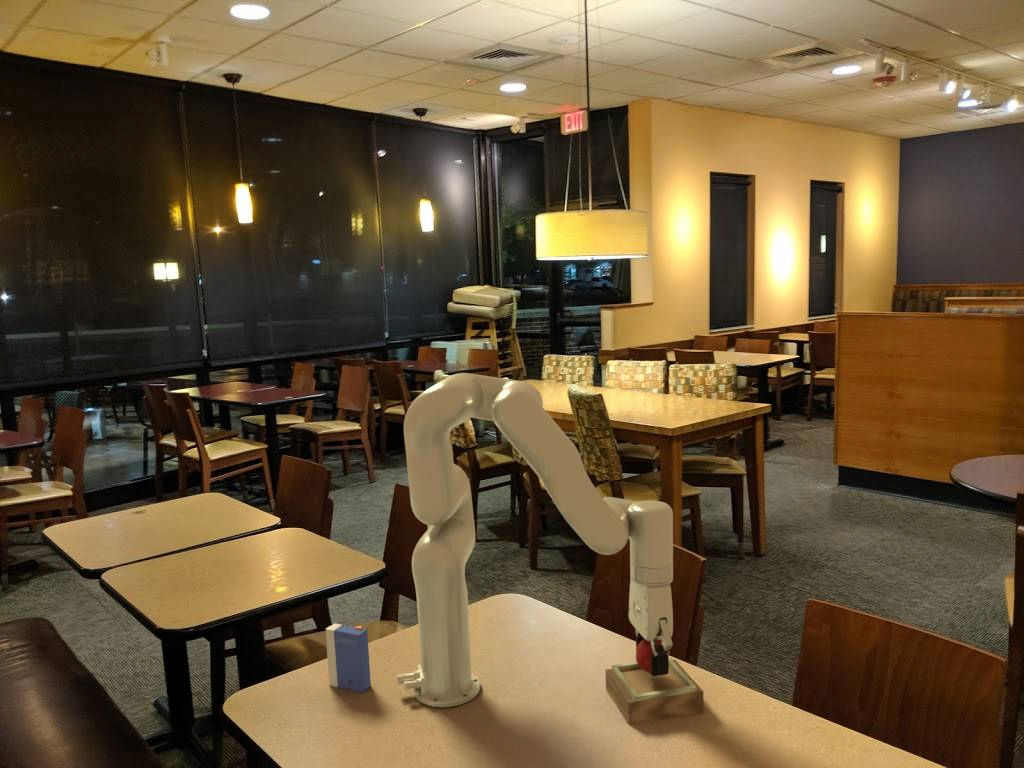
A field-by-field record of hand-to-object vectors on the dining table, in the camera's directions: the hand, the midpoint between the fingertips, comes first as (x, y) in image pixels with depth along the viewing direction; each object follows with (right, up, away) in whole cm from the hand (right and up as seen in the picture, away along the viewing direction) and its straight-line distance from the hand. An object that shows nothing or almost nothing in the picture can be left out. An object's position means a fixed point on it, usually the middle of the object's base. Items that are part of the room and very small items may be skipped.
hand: (652, 664), depth 143 cm
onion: (0, -2, 0) cm, 2 cm away
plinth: (0, -7, +1) cm, 7 cm away
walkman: (-57, -8, +10) cm, 58 cm away
